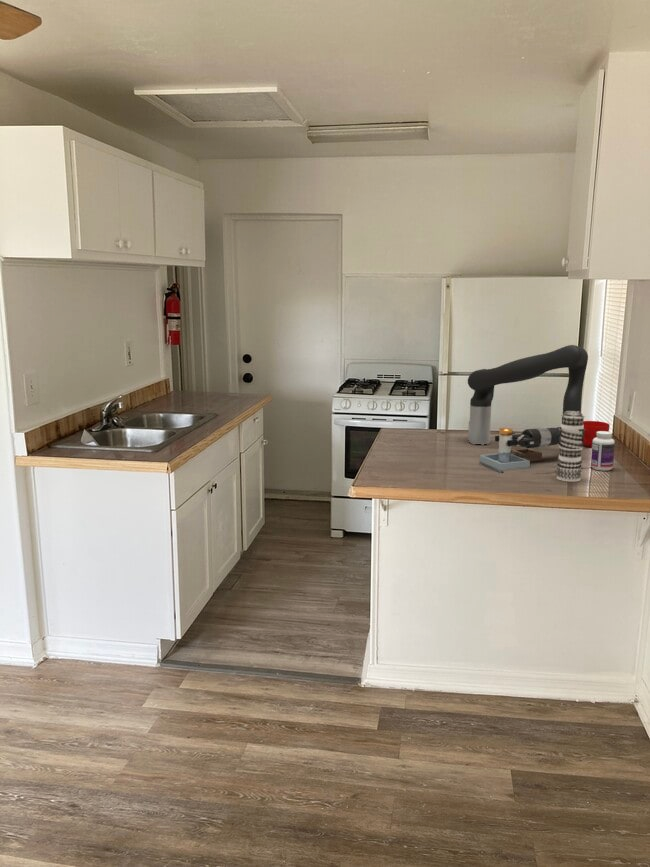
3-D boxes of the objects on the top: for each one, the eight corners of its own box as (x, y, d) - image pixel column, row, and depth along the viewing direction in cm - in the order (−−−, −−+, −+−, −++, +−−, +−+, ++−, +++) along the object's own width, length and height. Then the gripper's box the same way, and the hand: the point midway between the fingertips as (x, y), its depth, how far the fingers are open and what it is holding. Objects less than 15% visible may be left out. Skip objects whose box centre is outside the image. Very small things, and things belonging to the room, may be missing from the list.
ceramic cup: (566, 446, 314) (567, 424, 311) (586, 441, 324) (587, 419, 322) (594, 451, 304) (595, 429, 302) (613, 445, 315) (615, 423, 313)
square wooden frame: (509, 459, 292) (510, 449, 291) (528, 457, 295) (528, 448, 294) (522, 464, 284) (523, 454, 283) (541, 462, 287) (542, 452, 286)
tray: (479, 463, 285) (479, 455, 284) (507, 460, 289) (507, 452, 289) (500, 472, 271) (501, 464, 270) (529, 469, 276) (529, 461, 275)
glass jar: (494, 463, 282) (496, 428, 279) (506, 462, 283) (507, 427, 281) (502, 466, 277) (504, 430, 274) (513, 465, 279) (515, 429, 276)
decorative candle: (574, 474, 268) (578, 409, 263) (586, 481, 259) (591, 413, 254) (551, 475, 267) (555, 410, 262) (562, 482, 258) (567, 414, 253)
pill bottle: (614, 468, 278) (617, 431, 275) (609, 472, 271) (612, 435, 268) (593, 465, 282) (596, 429, 279) (588, 469, 276) (590, 433, 273)
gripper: (526, 425, 289) (491, 428, 283) (548, 432, 276) (512, 435, 270) (525, 443, 290) (490, 446, 285) (547, 450, 277) (511, 454, 272)
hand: (501, 441), depth 277 cm, fingers open, 8 cm apart
